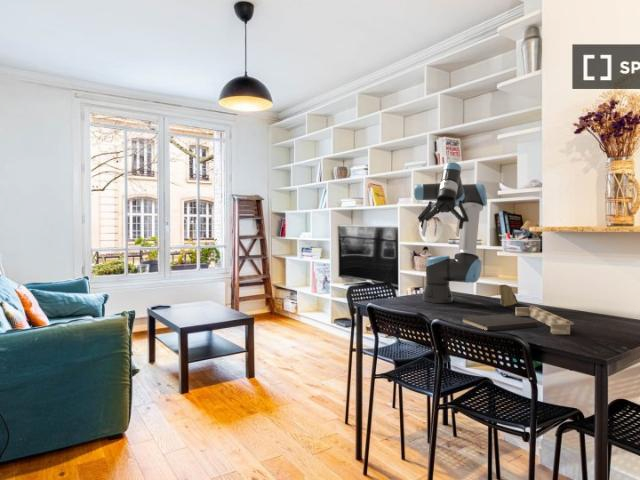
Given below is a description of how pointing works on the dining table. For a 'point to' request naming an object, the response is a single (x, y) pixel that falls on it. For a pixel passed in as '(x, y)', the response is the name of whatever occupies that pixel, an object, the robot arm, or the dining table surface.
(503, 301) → the rock
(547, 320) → the beige notched bar
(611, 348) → the dining table surface
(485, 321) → the hardcover book
